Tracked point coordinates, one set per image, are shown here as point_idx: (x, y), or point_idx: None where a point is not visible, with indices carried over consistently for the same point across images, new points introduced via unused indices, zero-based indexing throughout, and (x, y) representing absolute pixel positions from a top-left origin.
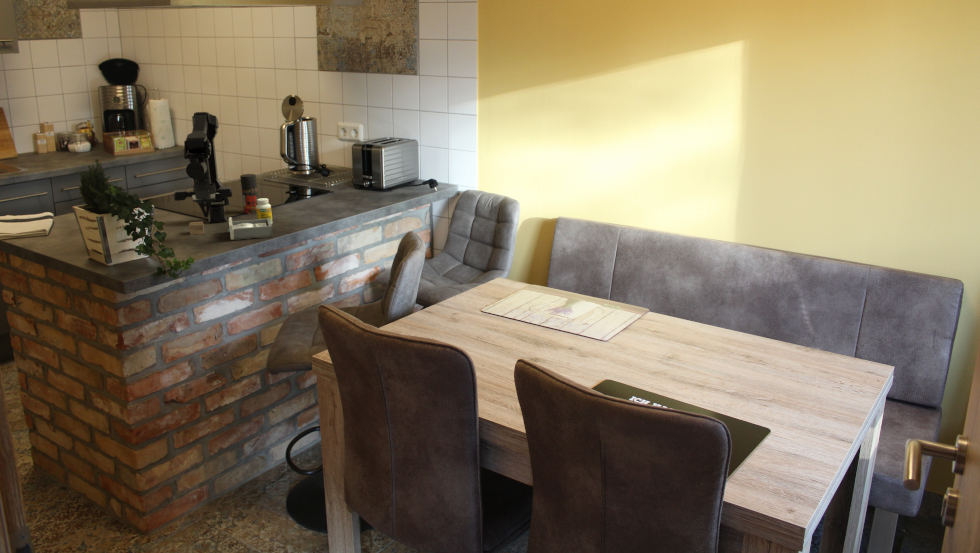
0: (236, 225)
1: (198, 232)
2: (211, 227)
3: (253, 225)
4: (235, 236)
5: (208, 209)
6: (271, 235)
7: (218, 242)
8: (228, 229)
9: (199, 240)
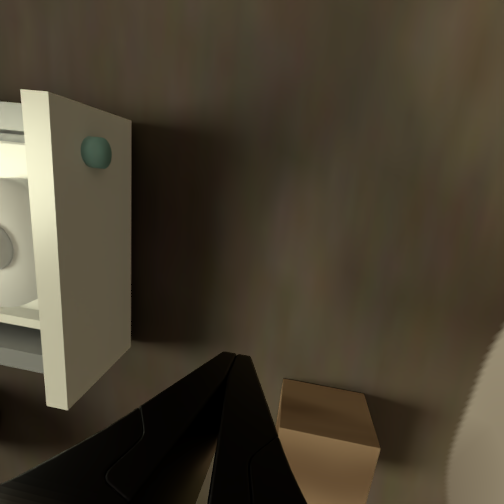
0: None
1: (315, 392)
2: None
3: None
4: None
5: (160, 402)
6: None
7: (218, 121)
8: (93, 138)
9: (333, 237)
